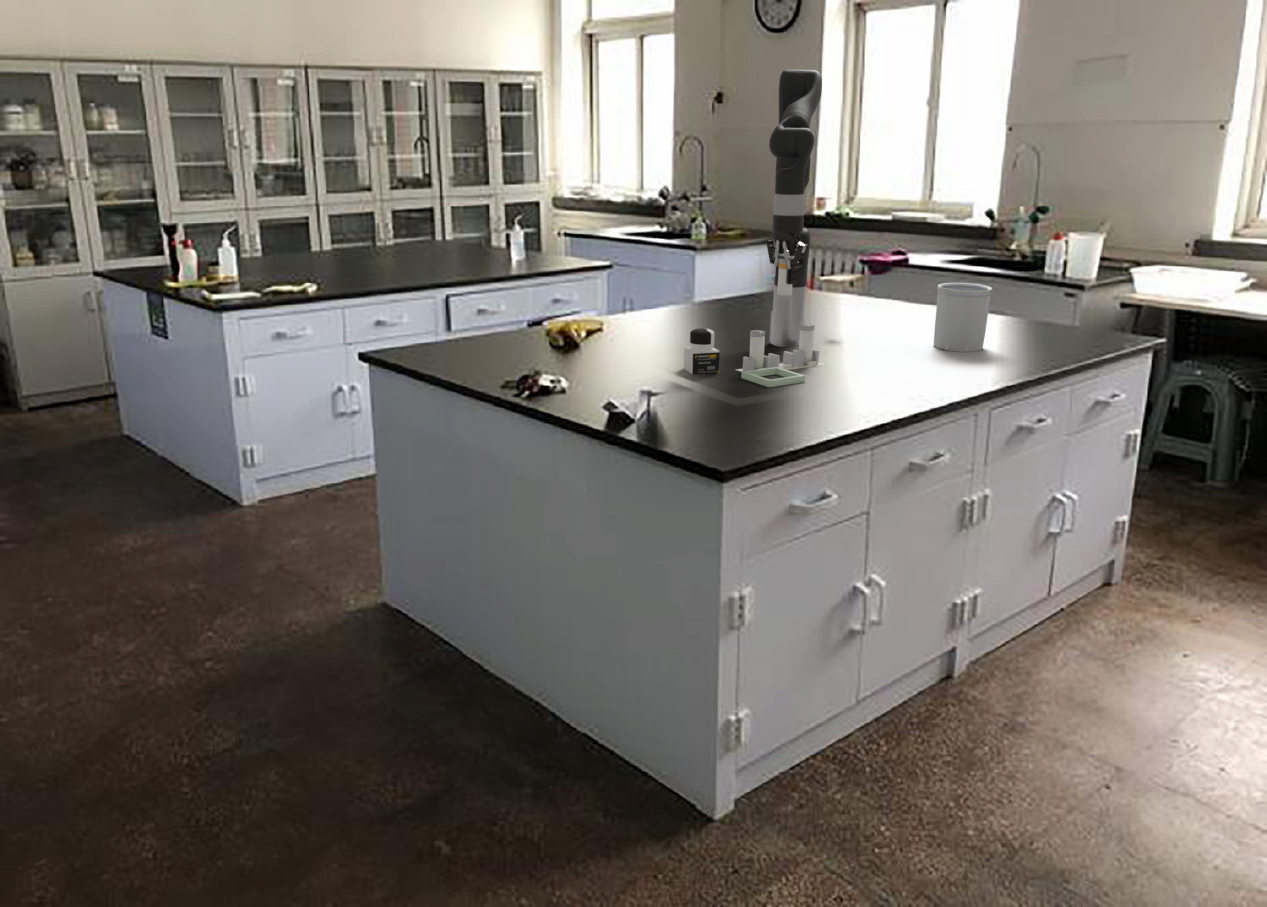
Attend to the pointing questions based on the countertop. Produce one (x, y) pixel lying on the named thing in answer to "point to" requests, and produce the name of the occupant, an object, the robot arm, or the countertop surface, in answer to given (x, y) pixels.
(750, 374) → the tray
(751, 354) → the cylinder
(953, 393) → the countertop surface
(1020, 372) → the countertop surface
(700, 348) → the medicine bottle
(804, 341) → the white capsule
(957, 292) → the utensil holder
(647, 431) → the countertop surface
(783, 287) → the fuse marked
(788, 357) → the holder
